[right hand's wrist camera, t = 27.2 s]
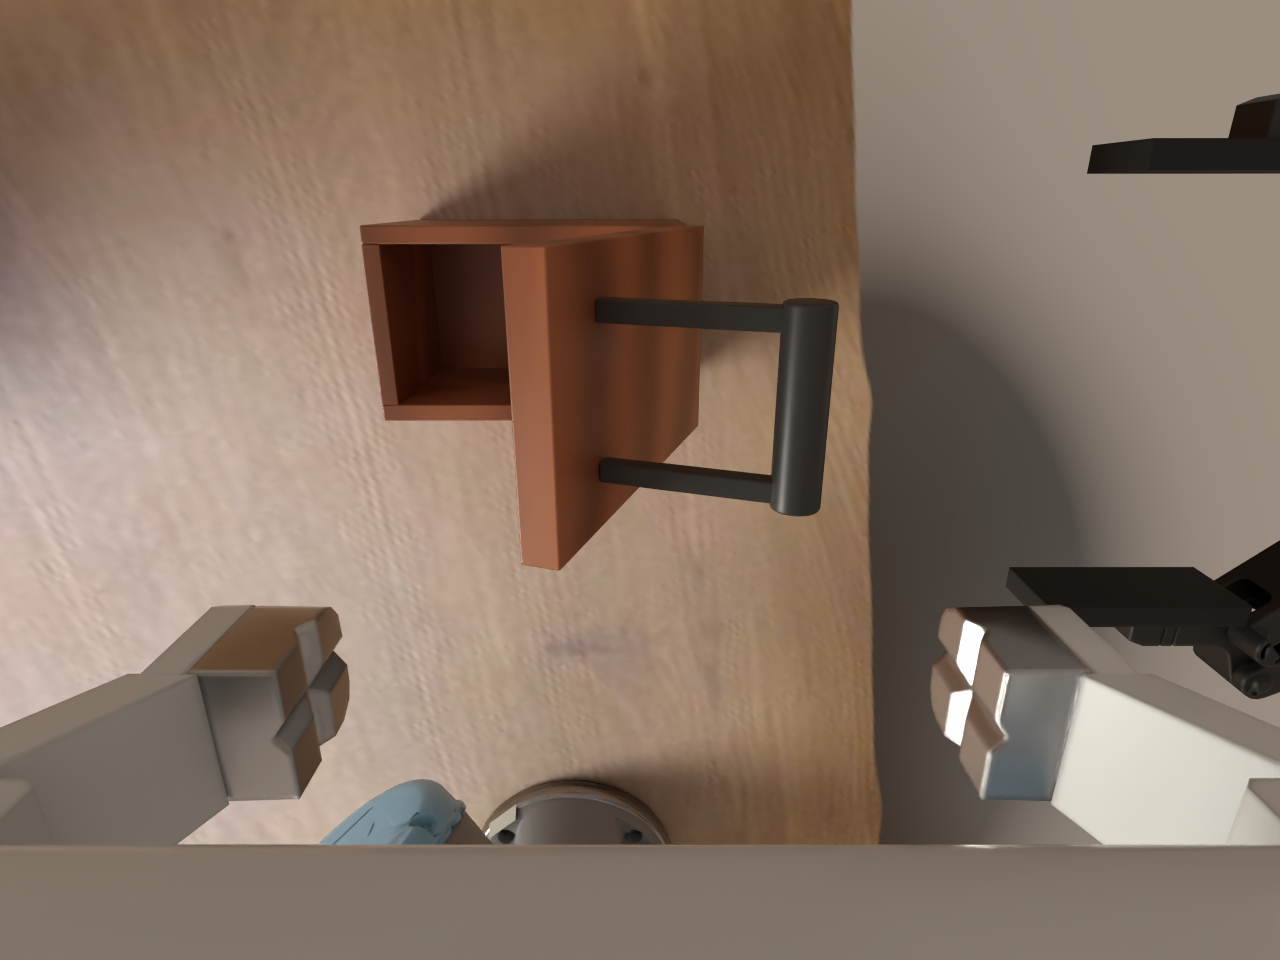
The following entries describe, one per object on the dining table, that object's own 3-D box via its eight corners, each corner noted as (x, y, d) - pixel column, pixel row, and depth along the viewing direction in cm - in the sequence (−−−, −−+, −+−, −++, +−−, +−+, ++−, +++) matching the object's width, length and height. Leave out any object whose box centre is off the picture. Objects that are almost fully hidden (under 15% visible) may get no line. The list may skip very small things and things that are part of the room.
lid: (520, 565, 22) (800, 611, 20) (499, 245, 19) (831, 251, 16) (672, 423, 36) (847, 440, 34) (675, 225, 33) (869, 227, 30)
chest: (433, 377, 45) (383, 421, 37) (417, 219, 42) (358, 225, 33) (676, 377, 45) (684, 420, 37) (678, 219, 42) (688, 225, 33)
